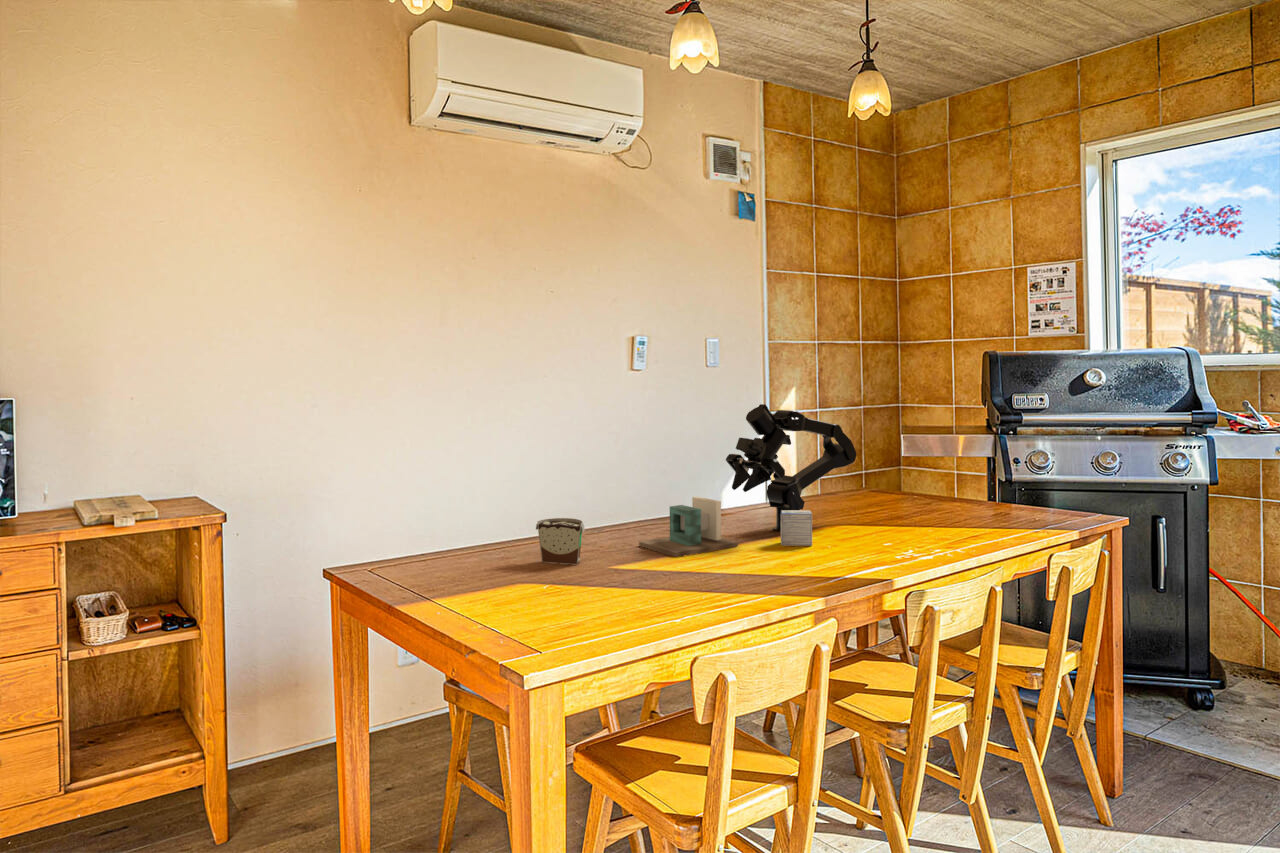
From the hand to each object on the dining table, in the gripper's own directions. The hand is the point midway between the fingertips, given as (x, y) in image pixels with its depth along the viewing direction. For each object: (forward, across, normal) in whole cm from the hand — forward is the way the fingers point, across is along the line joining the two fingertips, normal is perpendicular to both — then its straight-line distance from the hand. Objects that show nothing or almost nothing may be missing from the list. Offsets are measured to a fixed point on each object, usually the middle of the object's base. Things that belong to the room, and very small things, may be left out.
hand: (738, 489), depth 229 cm
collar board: (+21, 0, -2) cm, 21 cm away
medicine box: (+5, +15, +14) cm, 21 cm away
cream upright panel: (+18, 0, -2) cm, 18 cm away
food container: (+45, -6, -26) cm, 53 cm away
